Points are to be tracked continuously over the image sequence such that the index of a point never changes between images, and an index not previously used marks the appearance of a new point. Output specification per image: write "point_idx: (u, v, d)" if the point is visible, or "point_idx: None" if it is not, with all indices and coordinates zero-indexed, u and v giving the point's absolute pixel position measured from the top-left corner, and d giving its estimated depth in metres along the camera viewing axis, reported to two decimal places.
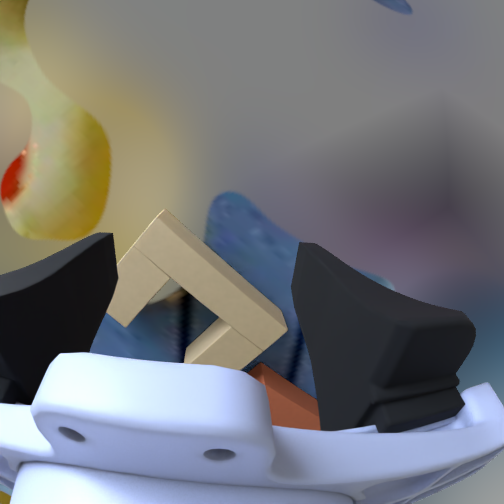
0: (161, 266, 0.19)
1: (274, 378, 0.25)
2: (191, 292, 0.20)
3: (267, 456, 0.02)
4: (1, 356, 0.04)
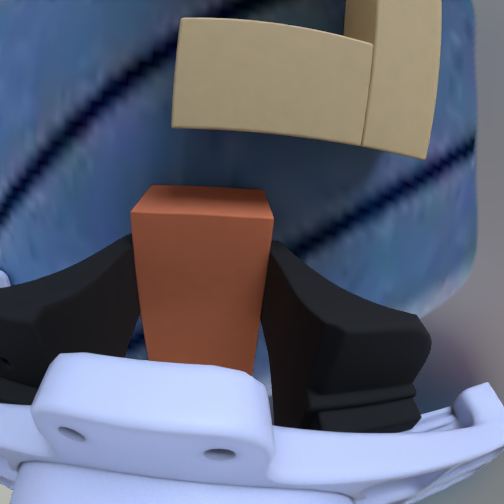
0: None
1: None
2: None
3: (267, 456, 0.02)
4: None
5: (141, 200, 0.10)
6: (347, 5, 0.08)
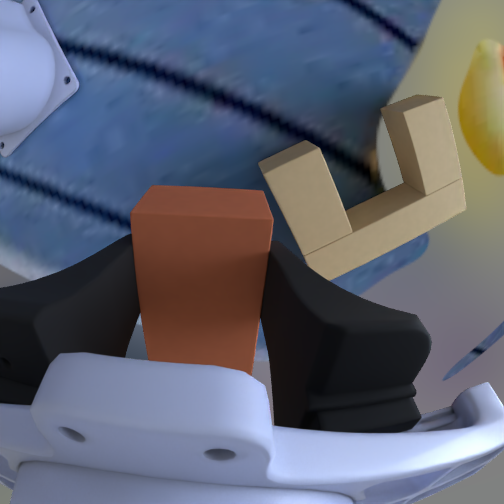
0: (437, 193, 0.17)
1: None
2: (405, 208, 0.17)
3: (267, 456, 0.02)
4: None
5: (141, 201, 0.10)
6: (366, 202, 0.20)
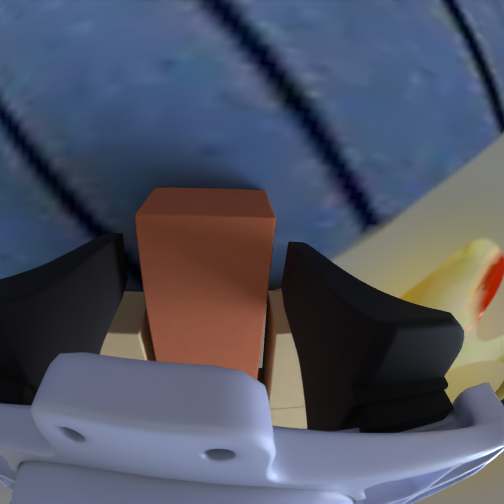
0: (285, 410, 0.15)
1: None
2: None
3: (267, 456, 0.02)
4: (16, 361, 0.04)
5: (145, 203, 0.10)
6: None
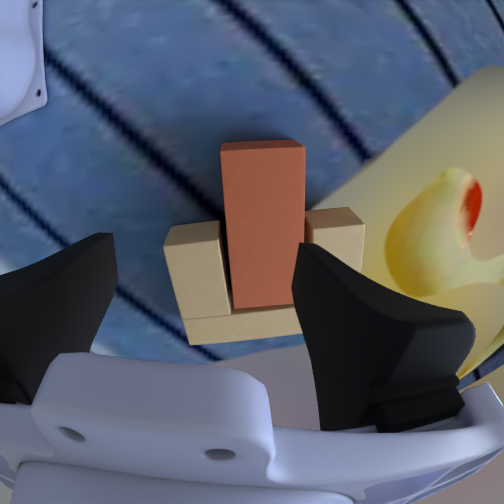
0: None
1: None
2: (287, 310, 0.20)
3: (267, 456, 0.02)
4: (2, 357, 0.04)
5: (222, 147, 0.16)
6: None
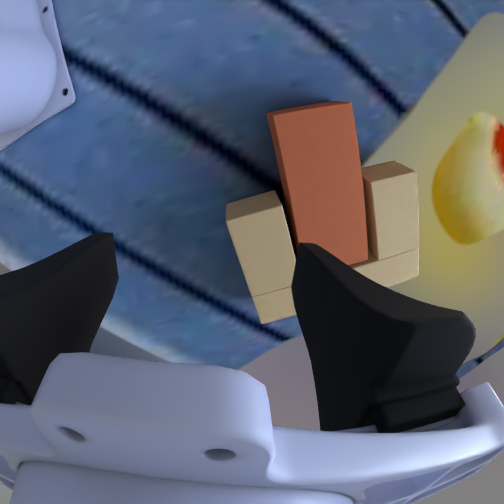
0: (390, 259, 0.19)
1: None
2: (355, 269, 0.20)
3: (267, 456, 0.02)
4: (2, 356, 0.04)
5: (271, 113, 0.16)
6: None
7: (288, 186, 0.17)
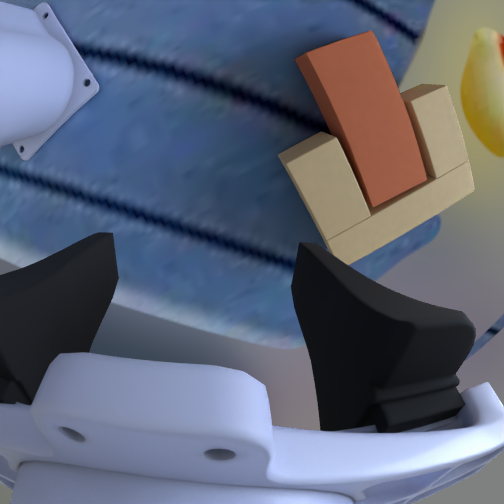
0: (447, 175, 0.17)
1: None
2: (418, 191, 0.18)
3: (267, 456, 0.02)
4: (1, 356, 0.04)
5: (303, 54, 0.14)
6: None
7: (338, 117, 0.15)
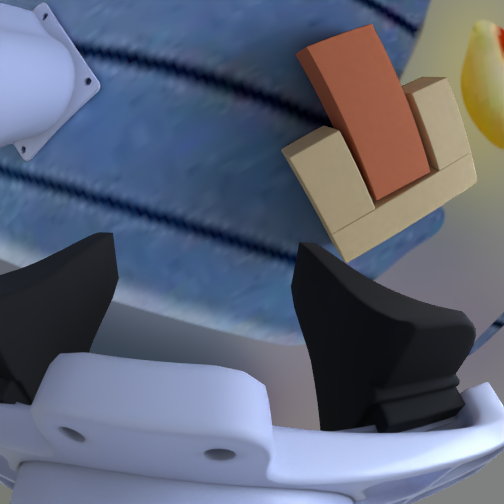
0: (450, 167, 0.17)
1: None
2: (422, 184, 0.17)
3: (267, 456, 0.02)
4: (2, 357, 0.04)
5: None
6: None
7: (340, 110, 0.15)
